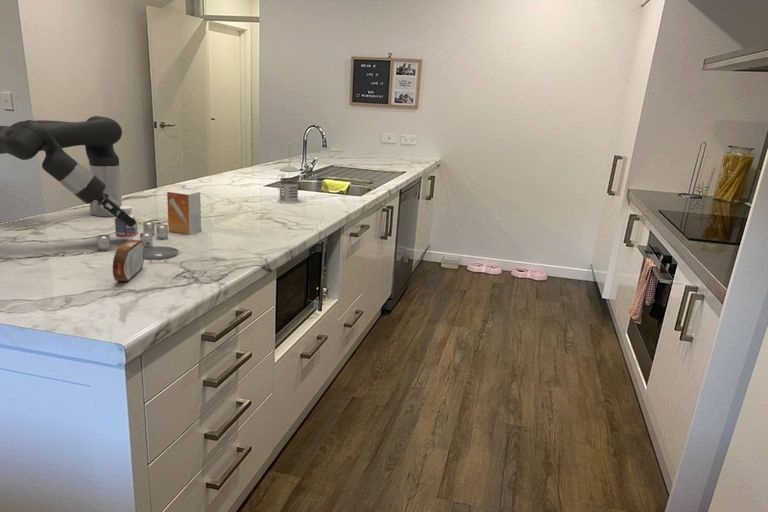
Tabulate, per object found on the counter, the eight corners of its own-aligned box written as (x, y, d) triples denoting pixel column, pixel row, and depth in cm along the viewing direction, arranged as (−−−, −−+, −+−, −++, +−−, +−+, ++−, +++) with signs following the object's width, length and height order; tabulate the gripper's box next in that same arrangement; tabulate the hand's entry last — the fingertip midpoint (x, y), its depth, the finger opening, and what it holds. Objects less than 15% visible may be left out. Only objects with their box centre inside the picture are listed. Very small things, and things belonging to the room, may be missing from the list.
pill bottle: (128, 239, 160) (126, 209, 158) (112, 237, 161) (109, 207, 159) (139, 235, 165) (137, 206, 163) (123, 233, 166) (121, 204, 164)
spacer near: (95, 251, 153) (94, 237, 152) (102, 248, 156) (101, 234, 155) (106, 252, 153) (105, 238, 152) (112, 249, 156) (111, 235, 155)
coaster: (127, 257, 149) (127, 255, 149) (148, 246, 160) (148, 244, 160) (166, 261, 148) (166, 259, 148) (185, 250, 159) (185, 248, 159)
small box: (168, 231, 178) (166, 191, 174) (180, 227, 183) (179, 188, 180) (189, 235, 175) (188, 194, 172) (201, 230, 181) (200, 191, 178)
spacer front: (154, 239, 168) (154, 226, 167) (159, 236, 171) (159, 224, 170) (164, 240, 168) (164, 227, 167) (169, 237, 171) (169, 225, 170)
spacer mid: (141, 236, 171) (140, 223, 169) (146, 233, 174) (146, 221, 173) (151, 236, 170) (150, 224, 169) (156, 234, 173) (156, 222, 172)
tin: (134, 266, 143) (132, 234, 140) (147, 267, 143) (145, 235, 141) (112, 286, 128) (109, 251, 126) (126, 286, 129) (124, 251, 126)
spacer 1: (124, 234, 171) (123, 221, 170) (130, 232, 174) (129, 219, 173) (134, 235, 171) (133, 222, 169) (139, 233, 174) (139, 220, 173)
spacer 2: (138, 248, 158) (137, 234, 157) (144, 245, 161) (143, 232, 160) (149, 249, 158) (148, 235, 157) (154, 246, 161) (154, 233, 160)
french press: (305, 202, 239) (306, 143, 232) (286, 205, 229) (287, 144, 222) (287, 198, 244) (288, 140, 237) (269, 201, 234) (269, 141, 227)
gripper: (69, 188, 158) (118, 226, 168) (75, 198, 147) (127, 238, 157) (88, 169, 159) (136, 208, 169) (96, 177, 148) (146, 218, 158)
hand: (131, 222), depth 163 cm, fingers closed on pill bottle, 5 cm apart
